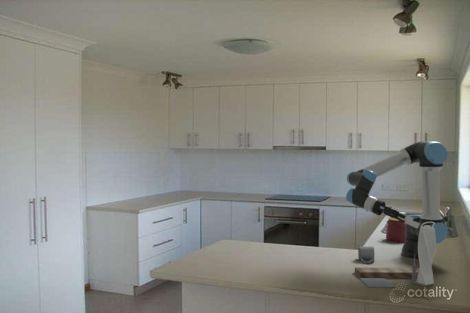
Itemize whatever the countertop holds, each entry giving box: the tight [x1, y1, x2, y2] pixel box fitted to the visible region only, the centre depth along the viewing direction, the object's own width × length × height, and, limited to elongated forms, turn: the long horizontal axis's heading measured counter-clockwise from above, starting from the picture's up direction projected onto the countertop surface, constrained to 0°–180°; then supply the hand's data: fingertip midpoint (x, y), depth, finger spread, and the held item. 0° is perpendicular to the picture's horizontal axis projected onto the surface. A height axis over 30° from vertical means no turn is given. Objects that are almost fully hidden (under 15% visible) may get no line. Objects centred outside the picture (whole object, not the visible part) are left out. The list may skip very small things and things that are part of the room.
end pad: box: [358, 277, 396, 288], centre depth 204 cm, size 12×12×1 cm
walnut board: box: [354, 267, 419, 279], centre depth 217 cm, size 32×8×3 cm, turn 94°
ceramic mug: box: [357, 246, 375, 264], centre depth 242 cm, size 11×8×8 cm
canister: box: [385, 216, 406, 243], centre depth 296 cm, size 13×13×18 cm
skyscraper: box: [410, 222, 437, 287], centre depth 205 cm, size 8×8×28 cm
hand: (415, 223), depth 218 cm, fingers open, 13 cm apart
